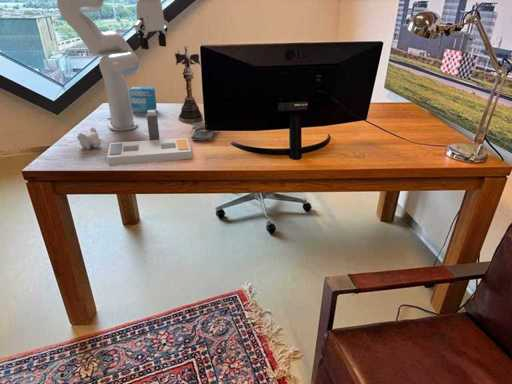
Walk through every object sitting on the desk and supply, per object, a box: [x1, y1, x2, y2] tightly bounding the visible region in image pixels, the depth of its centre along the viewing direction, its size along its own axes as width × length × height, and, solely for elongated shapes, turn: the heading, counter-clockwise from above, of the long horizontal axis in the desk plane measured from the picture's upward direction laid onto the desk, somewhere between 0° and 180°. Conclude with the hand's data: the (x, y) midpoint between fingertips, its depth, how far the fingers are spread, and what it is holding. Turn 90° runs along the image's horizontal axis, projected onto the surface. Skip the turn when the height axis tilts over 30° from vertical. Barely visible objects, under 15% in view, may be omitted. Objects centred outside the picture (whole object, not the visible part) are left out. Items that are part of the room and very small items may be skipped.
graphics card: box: [191, 122, 218, 141], centre depth 159 cm, size 17×4×12 cm
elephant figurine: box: [76, 127, 104, 150], centre depth 142 cm, size 8×10×7 cm
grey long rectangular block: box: [146, 110, 161, 140], centre depth 147 cm, size 4×4×14 cm
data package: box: [129, 86, 157, 113], centre depth 183 cm, size 12×4×12 cm, turn 95°
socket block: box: [107, 137, 192, 166], centre depth 139 cm, size 30×14×3 cm, turn 106°
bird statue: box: [174, 45, 203, 124], centre depth 172 cm, size 17×13×35 cm
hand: (154, 47), depth 137 cm, fingers open, 9 cm apart
